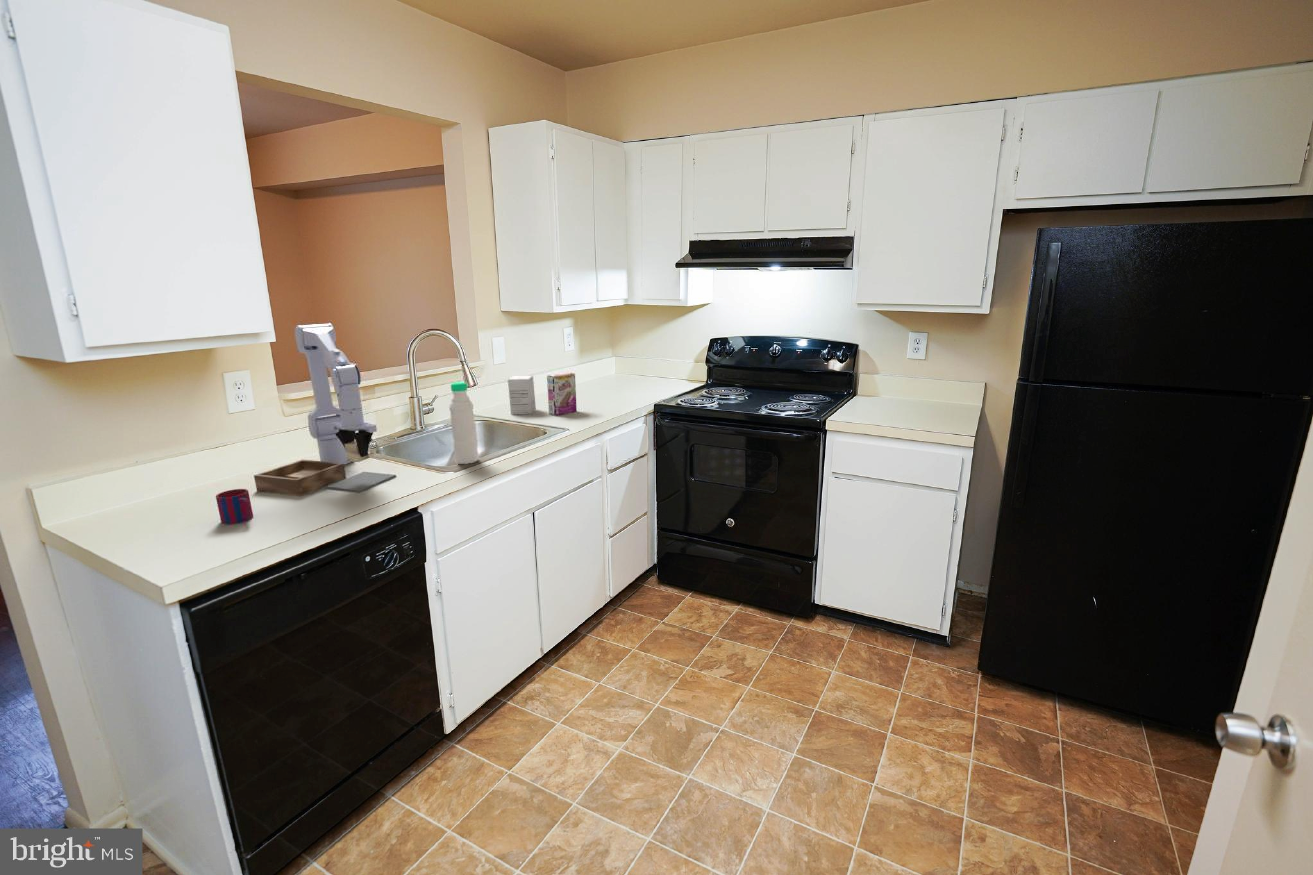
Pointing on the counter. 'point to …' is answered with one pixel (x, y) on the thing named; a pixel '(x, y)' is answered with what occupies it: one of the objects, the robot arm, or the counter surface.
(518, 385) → the supplement box
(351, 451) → the birch block
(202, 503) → the counter surface
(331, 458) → the robot arm
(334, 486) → the grey mat
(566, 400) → the candy bar box
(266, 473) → the walnut crate
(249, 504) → the mug
